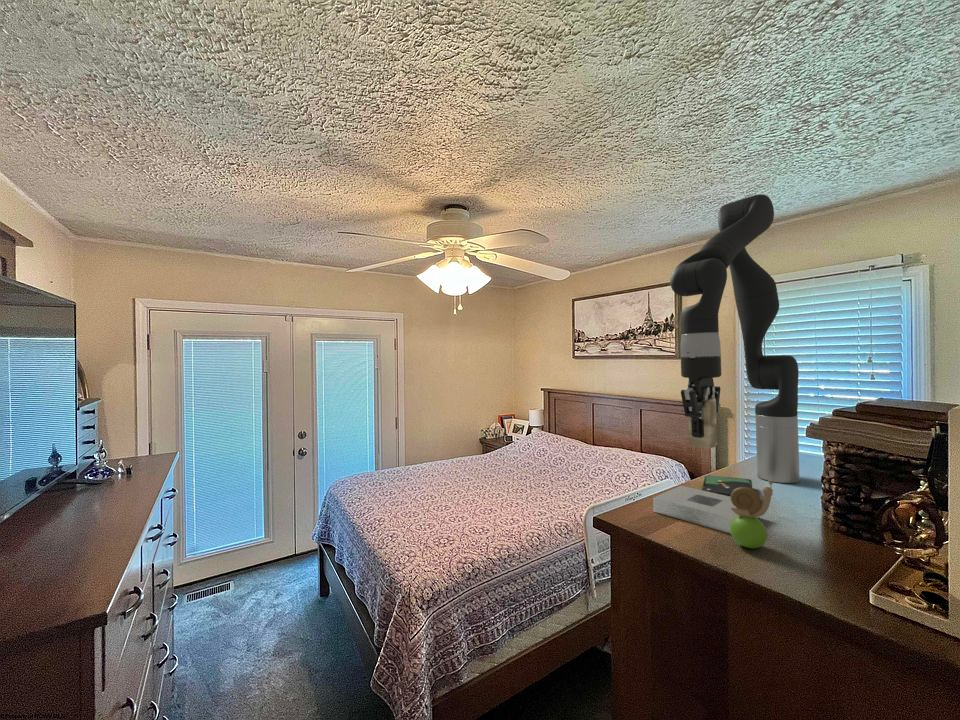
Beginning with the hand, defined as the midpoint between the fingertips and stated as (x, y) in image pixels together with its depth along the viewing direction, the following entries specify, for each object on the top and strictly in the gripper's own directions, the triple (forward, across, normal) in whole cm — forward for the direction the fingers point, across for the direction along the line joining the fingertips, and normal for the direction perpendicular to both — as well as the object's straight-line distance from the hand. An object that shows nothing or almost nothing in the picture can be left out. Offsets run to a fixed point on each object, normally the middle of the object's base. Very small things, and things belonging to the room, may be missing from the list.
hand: (702, 435), depth 85 cm
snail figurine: (+17, +10, +12) cm, 23 cm away
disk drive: (+18, -18, -2) cm, 25 cm away
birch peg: (+2, 0, 0) cm, 2 cm away
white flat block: (+17, 0, 0) cm, 17 cm away
